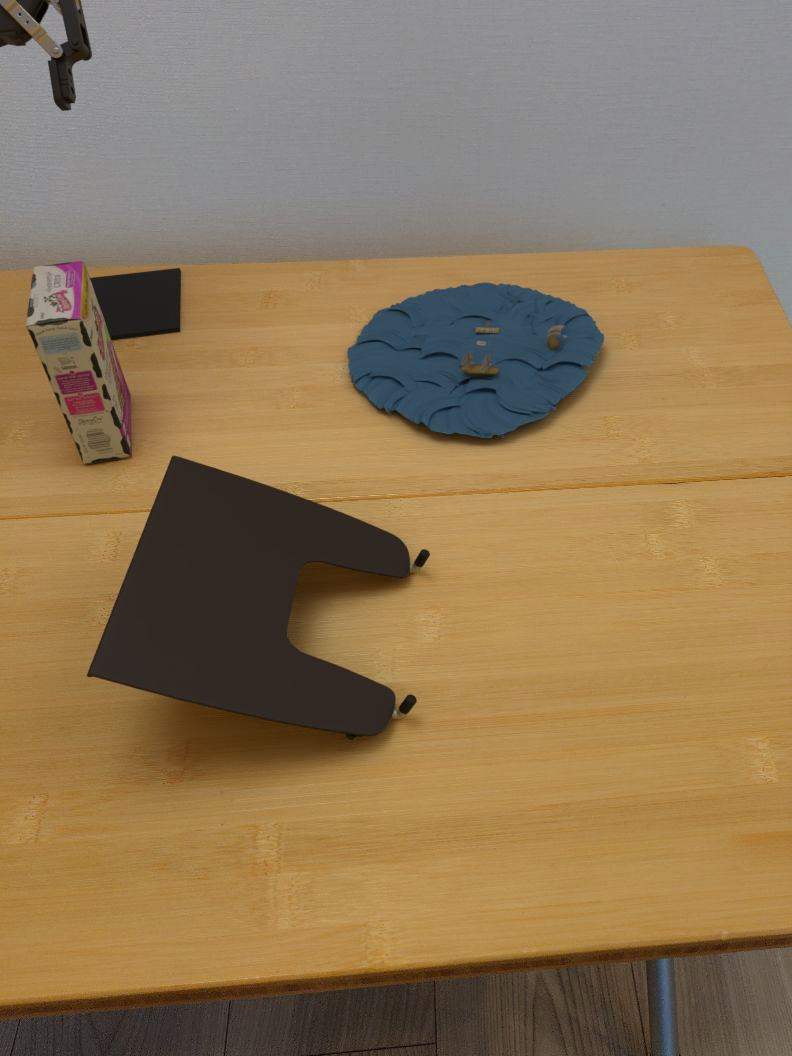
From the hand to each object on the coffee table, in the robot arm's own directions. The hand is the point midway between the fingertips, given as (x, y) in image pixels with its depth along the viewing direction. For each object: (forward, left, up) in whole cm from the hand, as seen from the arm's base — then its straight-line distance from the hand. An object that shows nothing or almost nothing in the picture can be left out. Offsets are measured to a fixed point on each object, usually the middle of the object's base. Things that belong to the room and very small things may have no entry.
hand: (14, 111), depth 85 cm
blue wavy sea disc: (+40, -7, -29) cm, 50 cm away
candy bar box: (0, -10, -29) cm, 31 cm away
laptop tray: (+17, -43, -29) cm, 54 cm away
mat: (+1, +14, -29) cm, 32 cm away
